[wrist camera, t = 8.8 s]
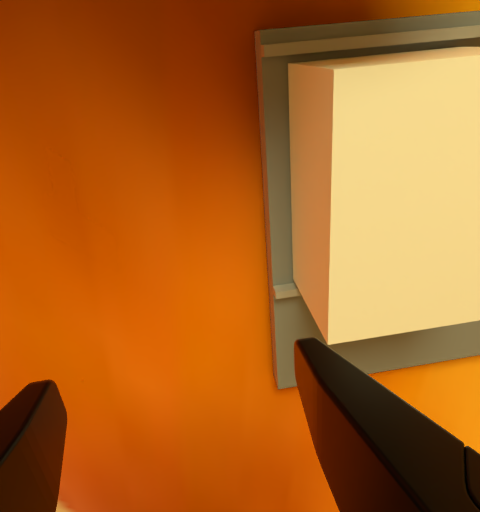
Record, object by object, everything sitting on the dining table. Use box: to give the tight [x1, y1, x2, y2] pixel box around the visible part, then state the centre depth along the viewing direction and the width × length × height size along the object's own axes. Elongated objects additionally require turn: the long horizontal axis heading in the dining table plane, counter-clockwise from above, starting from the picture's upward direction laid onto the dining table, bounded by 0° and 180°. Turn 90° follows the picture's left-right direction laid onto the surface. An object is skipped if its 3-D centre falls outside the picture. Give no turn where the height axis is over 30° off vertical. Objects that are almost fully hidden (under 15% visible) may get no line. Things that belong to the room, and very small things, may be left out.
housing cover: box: [288, 47, 480, 345], centre depth 16 cm, size 7×10×5 cm
